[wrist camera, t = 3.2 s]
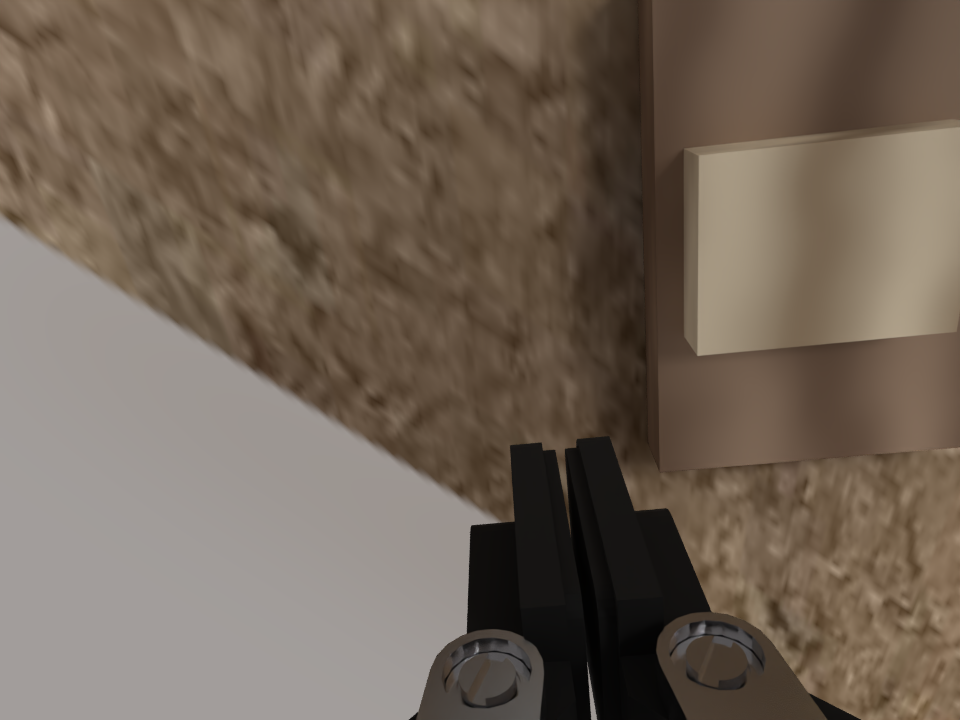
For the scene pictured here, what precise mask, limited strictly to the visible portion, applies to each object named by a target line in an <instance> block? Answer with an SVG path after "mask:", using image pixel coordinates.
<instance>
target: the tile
mask: <svg viewBox="0 0 960 720" xmlns="http://www.w3.org/2000/svg"><path fill="white" fill-rule="evenodd" d="M959 313H960V120H953V119H949V120H940V121H931V122H921V123H912V124H903V125H894V126H885V127H876V128H867V129H858V130H849V131H840V132H830V133H821V134H812V135H803V136H794V137H785V138H776V139H767V140H758V141H749V142H740V143H730V144H721V145H712V146H703V147H694V148H685V149H684V337H685V338H686V340H687V341H688V343H689V344H690V346H691V347H692V349H693V350H694V352H695V353H696V354H697V356H702V355H713V354H723V353H734V352H745V351H756V350H766V349H777V348H788V347H799V346H810V345H820V344H831V343H842V342H853V341H863V340H874V339H885V338H896V337H907V336H917V335H928V334H939V333H950V332H957V326H958V320H959Z"/></svg>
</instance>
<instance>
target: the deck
mask: <svg viewBox="0 0 960 720" xmlns="http://www.w3.org/2000/svg"><path fill="white" fill-rule="evenodd" d="M638 29H639V72H640V116H641V159H642V203H643V246H644V290H645V333H646V377H647V420H648V444H649V447H650V449H651V452H652V454H653V457H654V459H655V462H656V464H657V467H658V469H659V472H671V471H683V470H695V469H706V468H718V467H730V466H742V465H754V464H766V463H778V462H790V461H802V460H814V459H826V458H838V457H850V456H862V455H874V454H886V453H898V452H910V451H922V450H934V449H946V448H958V447H960V313H959V320H958V326H957V332H950V333H939V334H928V335H917V336H907V337H896V338H885V339H874V340H863V341H853V342H842V343H831V344H820V345H810V346H799V347H788V348H777V349H766V350H756V351H745V352H734V353H723V354H713V355H702V356H697V354H696V353H695V352H694V350H693V349H692V347H691V346H690V344H689V343H688V341H687V340H686V338H685V337H684V149H685V148H694V147H703V146H712V145H721V144H730V143H740V142H749V141H758V140H767V139H776V138H785V137H794V136H803V135H812V134H821V133H830V132H840V131H849V130H858V129H867V128H876V127H885V126H894V125H903V124H912V123H921V122H931V121H940V120H949V119H953V120H960V0H638Z"/></svg>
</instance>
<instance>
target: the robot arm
mask: <svg viewBox="0 0 960 720" xmlns="http://www.w3.org/2000/svg"><path fill="white" fill-rule="evenodd" d="M510 453H511V469H512V485H513V501H514V517H515V522H505V523H493V524H483V525H472V526H471V531H470V558H469V586H468V587H469V588H468V614H467V634H465V635H462V636H460V637H459V638H457V639H455V640H454V641H452V642H450V643H449V644H447V645H446V646H445V648H444V649H443V650H442V651H441V652H440V653H439V654H438V655H437V656H436V659H435V661H434V663H433V665H432V667H431V669H430V672H429V677H428V680H427V683H426V687H425V690H424V694H423V697H422V701H421V704H420V708H419V712H417V713H416V714H415V715H414V716H413V717H412V718H410V719H409V720H591V711H590V697H589V683H588V668H589V674H590V680H591V686H592V692H593V698H594V703H595V709H596V714H597V720H861V719H859V718H857V717H855V716H853V715H851V714H849V713H847V712H845V711H843V710H841V709H839V708H837V707H835V706H833V705H831V704H829V703H827V702H825V701H823V700H821V699H819V698H817V697H815V696H814V695H812V694H810V693H808V692H807V691H806V689H805V688H804V686H803V685H802V684H801V682H800V681H799V679H798V678H797V677H796V675H795V674H794V672H793V671H792V670H791V668H790V667H789V665H788V664H787V663H786V661H785V660H784V658H783V657H782V656H781V654H780V653H779V651H778V650H777V649H776V647H775V646H774V644H773V643H772V642H771V641H770V640H769V639H768V638H767V637H766V636H765V635H764V634H763V632H762V631H761V630H759V629H758V628H756V627H754V626H753V625H751V624H750V623H748V622H746V621H745V620H742V619H739V618H736V617H733V616H731V615H728V614H721V613H714V612H711V610H710V607H709V605H708V602H707V600H706V597H705V595H704V593H703V590H702V588H701V585H700V583H699V581H698V578H697V576H696V573H695V571H694V569H693V566H692V564H691V561H690V559H689V556H688V554H687V552H686V549H685V547H684V544H683V542H682V540H681V537H680V535H679V532H678V530H677V528H676V525H675V523H674V520H673V518H672V516H671V514H670V512H669V510H668V509H666V508H665V509H654V510H642V511H634V508H633V505H632V502H631V499H630V496H629V493H628V490H627V487H626V484H625V481H624V478H623V475H622V472H621V469H620V467H619V464H618V461H617V458H616V455H615V452H614V449H613V446H612V443H611V440H610V437H609V436H606V437H595V438H585V439H577V441H576V448H568V449H565V461H566V474H567V487H568V501H569V514H570V528H571V535H570V529H569V524H568V518H567V513H566V507H565V502H564V496H563V490H562V485H561V479H560V474H559V468H558V463H557V457H556V452H555V450H546V451H543V448H542V443H530V444H520V445H510ZM587 662H588V668H587Z"/></svg>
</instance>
